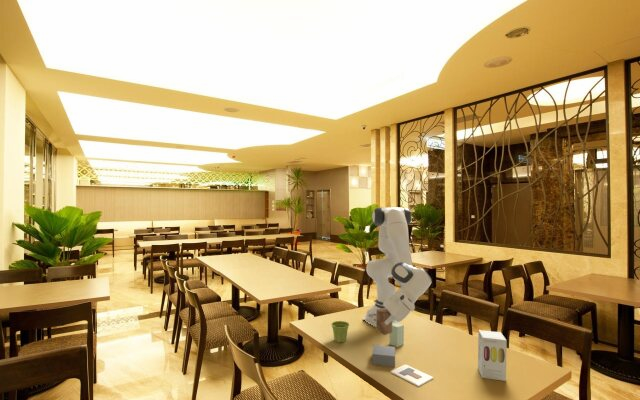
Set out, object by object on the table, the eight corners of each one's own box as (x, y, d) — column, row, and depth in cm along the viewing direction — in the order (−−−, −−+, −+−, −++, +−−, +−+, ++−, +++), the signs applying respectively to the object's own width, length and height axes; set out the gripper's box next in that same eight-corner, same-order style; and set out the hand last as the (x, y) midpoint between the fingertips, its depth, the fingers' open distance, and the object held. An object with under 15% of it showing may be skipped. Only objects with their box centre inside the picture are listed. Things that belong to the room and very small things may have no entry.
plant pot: (340, 346, 169) (340, 328, 169) (327, 340, 176) (327, 323, 176) (352, 341, 175) (352, 324, 175) (340, 335, 182) (340, 319, 182)
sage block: (389, 343, 172) (389, 324, 172) (395, 341, 175) (395, 322, 175) (397, 347, 168) (397, 327, 168) (403, 344, 171) (403, 325, 171)
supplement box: (481, 378, 138) (481, 337, 139) (477, 367, 147) (477, 329, 147) (507, 381, 136) (507, 340, 136) (501, 370, 145) (501, 331, 145)
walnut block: (376, 331, 154) (376, 309, 154) (383, 329, 157) (383, 307, 157) (384, 334, 150) (384, 312, 150) (392, 332, 153) (392, 310, 153)
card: (390, 372, 142) (390, 370, 142) (405, 365, 149) (405, 363, 149) (418, 386, 131) (418, 384, 131) (433, 378, 138) (433, 376, 138)
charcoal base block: (373, 355, 159) (373, 344, 159) (395, 357, 157) (395, 347, 157) (372, 365, 149) (372, 353, 149) (395, 367, 147) (395, 356, 147)
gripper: (392, 288, 164) (373, 308, 163) (406, 299, 144) (383, 323, 143) (401, 297, 164) (382, 317, 164) (416, 310, 144) (393, 333, 143)
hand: (382, 320), depth 153 cm, fingers closed on walnut block, 7 cm apart
